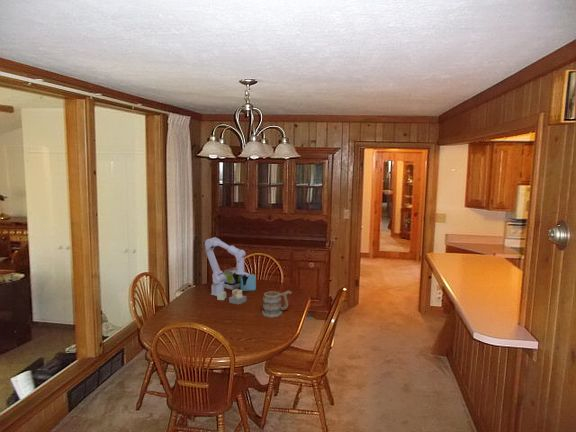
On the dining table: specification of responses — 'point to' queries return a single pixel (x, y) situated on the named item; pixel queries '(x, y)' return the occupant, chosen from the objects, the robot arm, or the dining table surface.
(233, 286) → the tea box
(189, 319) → the dining table surface
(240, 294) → the maple cube
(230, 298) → the base block
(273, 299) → the tankard
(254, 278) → the data package
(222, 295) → the sage block
